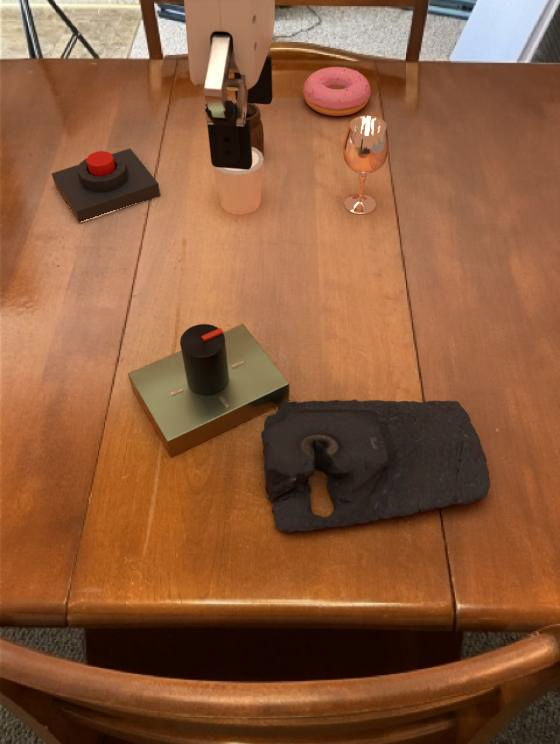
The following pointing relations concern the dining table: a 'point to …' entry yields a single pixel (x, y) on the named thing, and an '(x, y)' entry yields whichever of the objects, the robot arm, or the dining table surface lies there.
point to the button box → (106, 186)
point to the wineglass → (364, 157)
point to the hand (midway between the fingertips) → (243, 132)
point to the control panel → (212, 411)
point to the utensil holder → (255, 126)
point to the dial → (205, 358)
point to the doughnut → (336, 91)
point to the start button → (100, 163)
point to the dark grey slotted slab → (370, 460)
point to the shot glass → (241, 186)
